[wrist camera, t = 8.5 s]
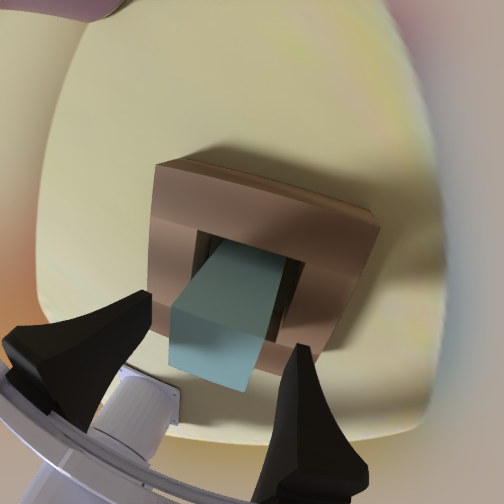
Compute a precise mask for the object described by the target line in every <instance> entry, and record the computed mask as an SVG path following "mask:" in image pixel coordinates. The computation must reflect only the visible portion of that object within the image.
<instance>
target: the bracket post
mask: <svg viewBox="0 0 504 504" xmlns="http://www.w3.org/2000/svg"><path fill="white" fill-rule="evenodd" d="M286 258H287V257H286V256H283V255H279V254H276V253H273V252H270V251H266V250H263V249H260V248H256V247H253V246H250V245H247V244H243V243H240V242H237V241H233V240H230V239H227V238H225V239H224V240H223V242H222V243H221V244H220V245H219V247H218V248H217V249H216V250H215V251H214V253H213V254H212V255H211V256H210V258H209V259H208V260H207V261H206V263H205V264H204V265H203V266H202V268H201V269H200V270H199V271H198V273H197V274H196V275H195V276H194V277H193V279H192V280H191V281H190V283H189V284H188V285H187V286H186V288H185V289H184V290H183V291H182V293H181V294H180V295H179V296H178V298H177V299H176V300H175V301H174V303H173V304H172V305H171V312H170V332H169V362H168V365H170V366H172V367H174V368H177V369H179V370H182V371H184V372H187V373H189V374H192V375H194V376H197V377H200V378H202V379H205V380H208V381H211V382H213V383H216V384H219V385H222V386H225V387H228V388H231V389H234V390H237V391H240V392H245V389H246V387H247V384H248V382H249V379H250V376H251V374H252V371H253V369H254V366H255V363H256V361H257V358H258V356H259V353H260V350H261V348H262V345H263V342H264V339H265V336H266V333H267V329H268V325H269V322H270V318H271V315H272V311H273V307H274V304H275V300H276V296H277V292H278V289H279V285H280V281H281V277H282V273H283V269H284V266H285V262H286Z"/></svg>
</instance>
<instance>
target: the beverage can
mask: <svg viewBox="0 0 504 504" xmlns="http://www.w3.org/2000/svg"><path fill="white" fill-rule="evenodd" d="M124 1H125V0H0V9H2V10H17V11H26V12H33V13H40V14H46V15H53V16H57V17H63V18H67V19H72V20H76V21H80V22H85V23H90V22H94V21H97V20H100V19H102V18H105V17H106V16H108V15H110V14H111V13H113V12H114V11H115V10H116V9H117V8H118V7H119V6H120V5H121V4H122V3H123V2H124Z"/></svg>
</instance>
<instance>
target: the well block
mask: <svg viewBox="0 0 504 504" xmlns="http://www.w3.org/2000/svg"><path fill="white" fill-rule="evenodd" d="M379 231H380V226H379V225H378V223H377V221H376V220H375V218H374V216H373V215H372V213H371V212H370V211H369V210H366V209H363V208H360V207H357V206H354V205H351V204H348V203H345V202H342V201H339V200H336V199H333V198H330V197H327V196H324V195H321V194H318V193H315V192H311V191H308V190H305V189H301V188H298V187H295V186H291V185H288V184H284V183H281V182H277V181H274V180H270V179H266V178H263V177H259V176H255V175H251V174H248V173H244V172H240V171H236V170H232V169H228V168H223V167H219V166H215V165H211V164H206V163H202V162H197V161H193V160H188V159H183V158H178V159H174V160H171V161H167V162H163V163H160V164H156V167H155V175H154V184H153V194H152V204H151V216H150V230H149V248H148V277H147V292H149V293H152V325H151V327H150V329H149V330H152V331H154V332H156V333H159V334H161V335H163V336H166V337H168V338H169V332H170V312H171V305H172V304H173V303H174V301H175V300H176V299H177V298H178V296H179V295H180V294H181V293H182V291H183V290H184V289H185V288H186V286H187V285H188V284H189V283H190V281H191V280H192V279H193V277H194V276H195V275H196V274H197V273H198V271H199V270H200V269H201V268H202V266H203V265H204V264H205V263H206V261H207V260H208V255H209V249H210V243H211V238H212V234H214V235H217V236H220V237H223V238H227V239H230V240H233V241H237V242H240V243H243V244H247V245H250V246H253V247H256V248H260V249H263V250H266V251H270V252H273V253H276V254H279V255H283V256H286V257H289V258H293V259H296V260H299V261H301V263H300V266H299V269H298V272H297V275H296V277H295V280H294V283H293V286H292V289H291V291H290V294H289V297H288V300H287V302H286V305H285V308H284V310H283V313H282V315H280V314H276V313H273V312H272V315H271V318H270V322H269V325H268V329H267V333H266V336H265V339H264V342H263V345H262V348H261V350H260V353H259V356H258V358H257V361H256V363H255V366H254V368H255V369H258V370H262V371H265V372H269V373H272V374H276V375H279V376H282V375H283V371H284V368H285V366H286V364H287V362H288V360H289V358H290V356H291V354H292V352H293V350H294V348H295V345H296V343H300V344H304V345H307V346H310V348H311V353H312V357H313V361H314V364H315V363H316V361H317V359H318V357H319V356H320V354H321V352H322V350H323V348H324V347H325V345H326V343H327V341H328V339H329V338H330V336H331V334H332V332H333V330H334V328H335V326H336V324H337V322H338V321H339V319H340V317H341V315H342V313H343V311H344V309H345V307H346V305H347V303H348V301H349V299H350V297H351V294H352V292H353V290H354V288H355V286H356V284H357V282H358V280H359V277H360V275H361V273H362V271H363V269H364V266H365V264H366V262H367V259H368V257H369V255H370V252H371V250H372V248H373V245H374V243H375V241H376V238H377V236H378V233H379Z"/></svg>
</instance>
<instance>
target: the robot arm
mask: <svg viewBox="0 0 504 504" xmlns="http://www.w3.org/2000/svg"><path fill="white" fill-rule="evenodd" d="M151 325H152V293H149V292H147V291H144V290H140V291H137V292H135V293H133V294H131V295H129V296H127V297H125V298H123V299H121V300H119V301H117V302H115V303H113V304H110V305H108V306H106V307H104V308H101V309H99V310H96V311H94V312H92V313H89V314H86V315H83V316H80V317H77V318H74V319H70V320H65V321H61V322H56V323H51V324H44V325H32V326H16V327H15V328H14V329H13V330H12V331H11V332H10V333H9V334H8V335H6V336H5V337H4V338H3V339H2V346H3V348H4V350H5V352H6V354H7V356H8V358H9V360H10V362H11V364H12V366H13V367H12V368H11V369H9V368H8V367H7V366H6V364H5V363H4V362H3V361H2V360H1V359H0V420H1V422H2V423H3V424H4V425H5V426H6V427H7V428H8V429H9V430H10V431H11V432H12V433H13V434H14V435H15V436H16V437H17V438H18V439H19V440H20V441H21V442H23V443H24V444H25V445H26V446H27V447H28V448H29V449H30V450H31V451H33V452H34V453H35V454H36V455H37V456H38V457H40V458H41V459H42V460H43V461H44V463H43V464H42V465H41V467H40V468H39V470H38V471H37V473H36V474H35V476H34V477H33V479H32V480H31V482H30V483H29V485H28V486H27V488H26V490H25V491H24V493H23V494H22V496H21V497H20V499H19V501H18V502H17V504H180V503H177V502H175V501H173V500H170V499H168V498H166V497H164V496H161V495H159V494H157V493H155V492H153V491H152V489H153V488H156V489H158V490H160V491H163V492H165V493H168V494H171V495H173V496H175V497H178V498H181V499H183V500H186V501H189V502H192V503H195V504H350V503H351V497H352V496H354V495H356V494H358V493H360V492H362V491H364V490H365V489H366V488H367V487H368V486H369V471H368V465H367V464H366V463H365V462H364V461H363V459H362V458H361V457H360V456H359V455H358V454H357V453H356V451H355V450H354V449H353V447H352V446H351V445H350V443H349V442H348V441H347V439H346V437H345V436H344V434H343V433H342V431H341V429H340V428H339V426H338V424H337V423H336V421H335V419H334V417H333V415H332V413H331V411H330V409H329V406H328V404H327V402H326V399H325V397H324V394H323V391H322V389H321V386H320V383H319V379H318V376H317V373H316V369H315V365H314V361H313V357H312V353H311V348H310V346H307V345H304V344H300V343H296V345H295V348H294V350H293V352H292V354H291V356H290V358H289V360H288V362H287V364H286V366H285V368H284V371H283V375H282V378H281V382H280V386H279V392H278V400H277V407H276V414H275V421H274V428H273V433H272V437H271V440H270V444H269V448H268V451H267V455H266V458H265V461H264V464H263V468H262V471H261V474H260V477H259V480H258V482H257V485H256V488H255V491H254V493H253V496H252V499H251V501H250V502H247V501H242V500H238V499H234V498H230V497H227V496H223V495H220V494H216V493H213V492H209V491H206V490H203V489H200V488H197V487H194V486H191V485H188V484H186V483H183V482H180V481H178V480H175V479H173V478H170V477H168V476H165V475H163V474H161V473H158V472H156V471H154V470H151V469H149V467H150V465H151V464H149V463H148V461H149V460H150V459H151V458H152V457H153V456H154V455H155V453H156V451H157V449H158V447H159V445H160V443H161V441H162V439H163V437H164V435H165V433H166V431H167V429H168V427H169V425H170V424H171V425H174V426H178V424H179V403H180V391H179V390H178V389H177V388H174V387H172V386H170V385H167V384H165V383H163V382H160V381H158V380H156V379H154V378H151V377H149V376H147V375H145V374H143V373H141V372H139V371H137V370H134V369H132V368H130V367H128V366H126V365H124V363H125V362H126V361H127V359H128V358H129V357H130V356H131V354H132V353H133V352H134V350H135V349H136V348H137V347H138V345H139V344H140V343H141V341H142V340H143V339H144V337H145V335H146V334H147V332H148V330H149V329H150V327H151ZM117 372H118V374H119V379H120V384H119V385H118V386H117V388H116V389H115V391H114V392H113V393H112V395H111V396H110V398H109V399H108V400H107V402H106V403H105V405H104V406H103V408H102V409H101V410H100V412H99V413H98V415H97V416H96V418H95V419H94V421H93V422H92V419H93V417H94V415H95V412H96V410H97V408H98V406H99V404H100V402H101V400H102V398H103V396H104V394H105V393H106V391H107V389H108V387H109V385H110V384H111V382H112V380H113V379H114V377H115V375H116V374H117ZM91 422H92V423H91ZM90 424H91V425H90Z"/></svg>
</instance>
